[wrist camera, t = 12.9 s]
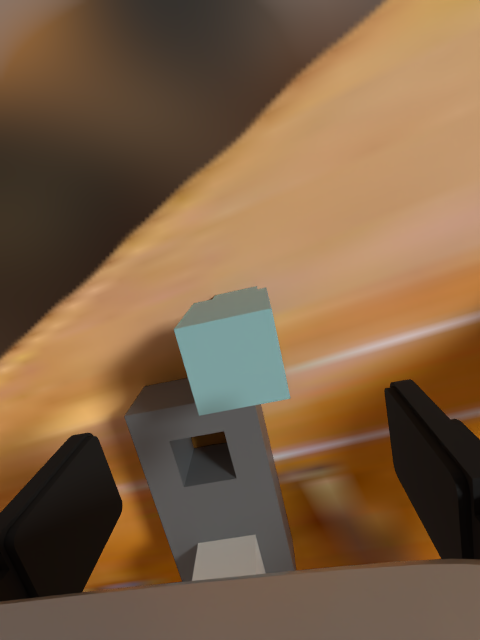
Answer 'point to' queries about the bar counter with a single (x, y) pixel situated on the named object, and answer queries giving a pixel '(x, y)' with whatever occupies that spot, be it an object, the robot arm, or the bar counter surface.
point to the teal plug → (232, 352)
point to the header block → (211, 485)
